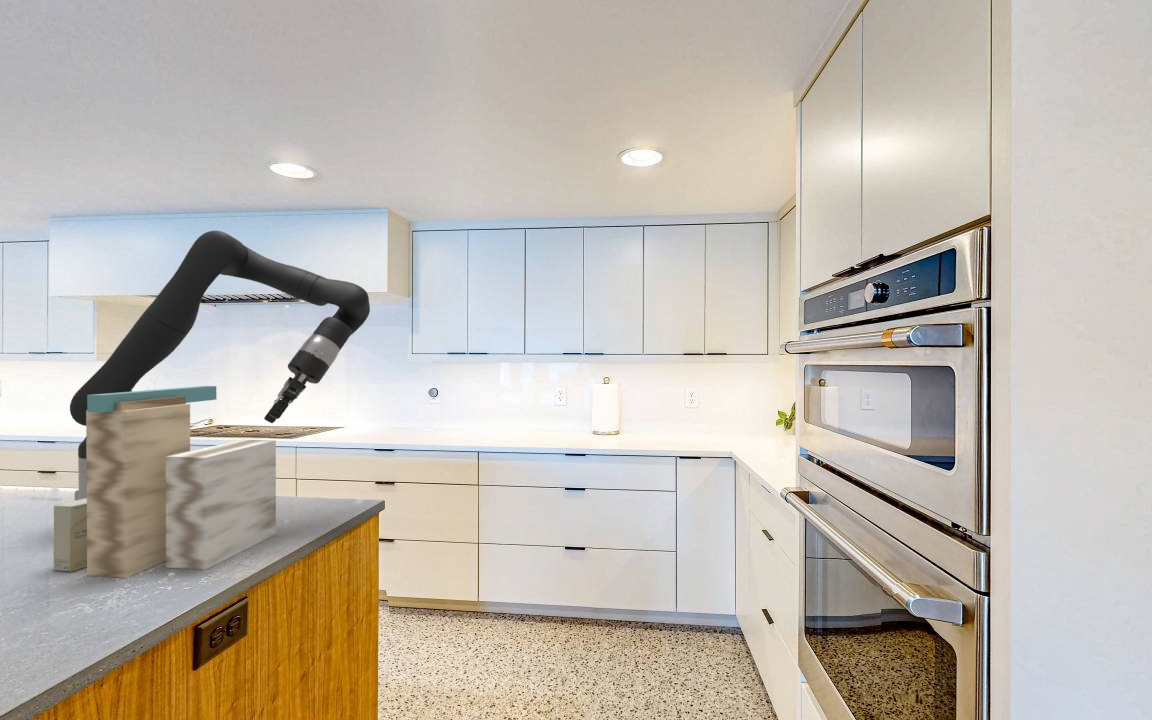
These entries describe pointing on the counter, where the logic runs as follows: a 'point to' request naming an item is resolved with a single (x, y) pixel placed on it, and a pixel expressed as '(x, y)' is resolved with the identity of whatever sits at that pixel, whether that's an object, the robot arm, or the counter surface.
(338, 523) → the counter surface
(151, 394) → the rod
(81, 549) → the skincare box
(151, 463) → the stepped wooden blocks
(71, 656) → the counter surface
